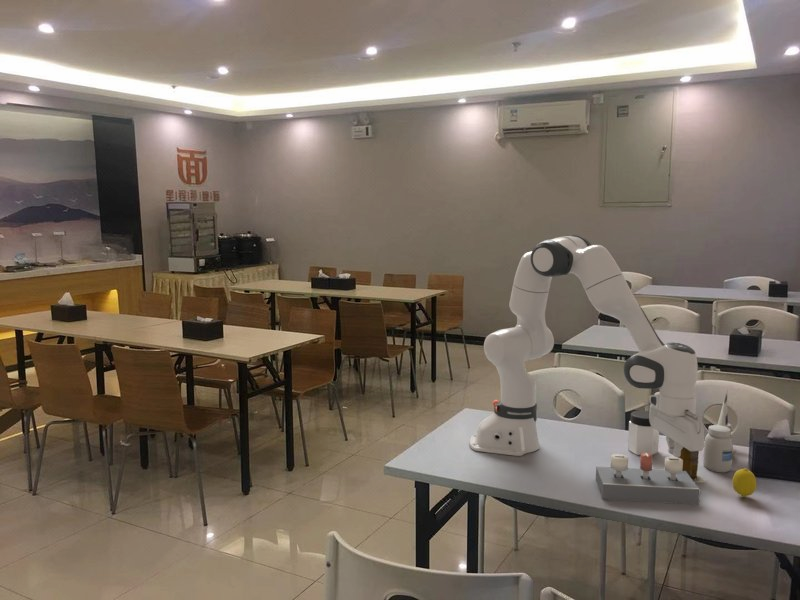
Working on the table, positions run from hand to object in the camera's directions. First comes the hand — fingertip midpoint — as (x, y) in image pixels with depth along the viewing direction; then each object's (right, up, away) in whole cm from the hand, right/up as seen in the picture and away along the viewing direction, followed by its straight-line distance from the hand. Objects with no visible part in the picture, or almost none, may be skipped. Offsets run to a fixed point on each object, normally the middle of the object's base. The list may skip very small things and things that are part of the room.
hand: (674, 454), depth 170 cm
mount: (-7, -11, +3) cm, 13 cm away
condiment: (+9, -9, +12) cm, 18 cm away
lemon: (+18, -11, -1) cm, 21 cm away
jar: (+3, -7, +31) cm, 32 cm away
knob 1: (-14, -8, +3) cm, 16 cm away
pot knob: (-7, -8, +2) cm, 11 cm away
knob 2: (0, -8, +1) cm, 8 cm away
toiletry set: (+25, -7, +25) cm, 36 cm away
